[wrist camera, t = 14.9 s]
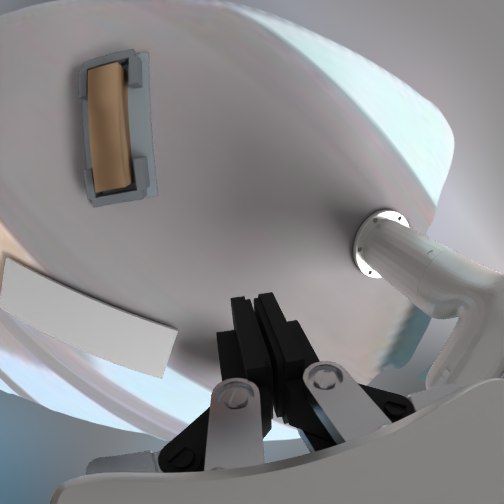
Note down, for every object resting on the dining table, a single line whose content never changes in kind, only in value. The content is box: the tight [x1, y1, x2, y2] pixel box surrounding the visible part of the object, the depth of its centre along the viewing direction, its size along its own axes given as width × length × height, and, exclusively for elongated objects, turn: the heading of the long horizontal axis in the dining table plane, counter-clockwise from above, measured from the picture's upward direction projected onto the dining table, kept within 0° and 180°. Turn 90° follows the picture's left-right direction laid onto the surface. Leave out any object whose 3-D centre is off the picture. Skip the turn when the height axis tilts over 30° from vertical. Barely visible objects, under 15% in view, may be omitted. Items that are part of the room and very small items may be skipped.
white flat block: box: [0, 257, 178, 379], centre depth 40 cm, size 34×5×10 cm
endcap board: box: [79, 49, 158, 208], centre depth 30 cm, size 10×21×4 cm, turn 3°
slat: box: [88, 62, 135, 193], centre depth 28 cm, size 4×16×5 cm, turn 3°
